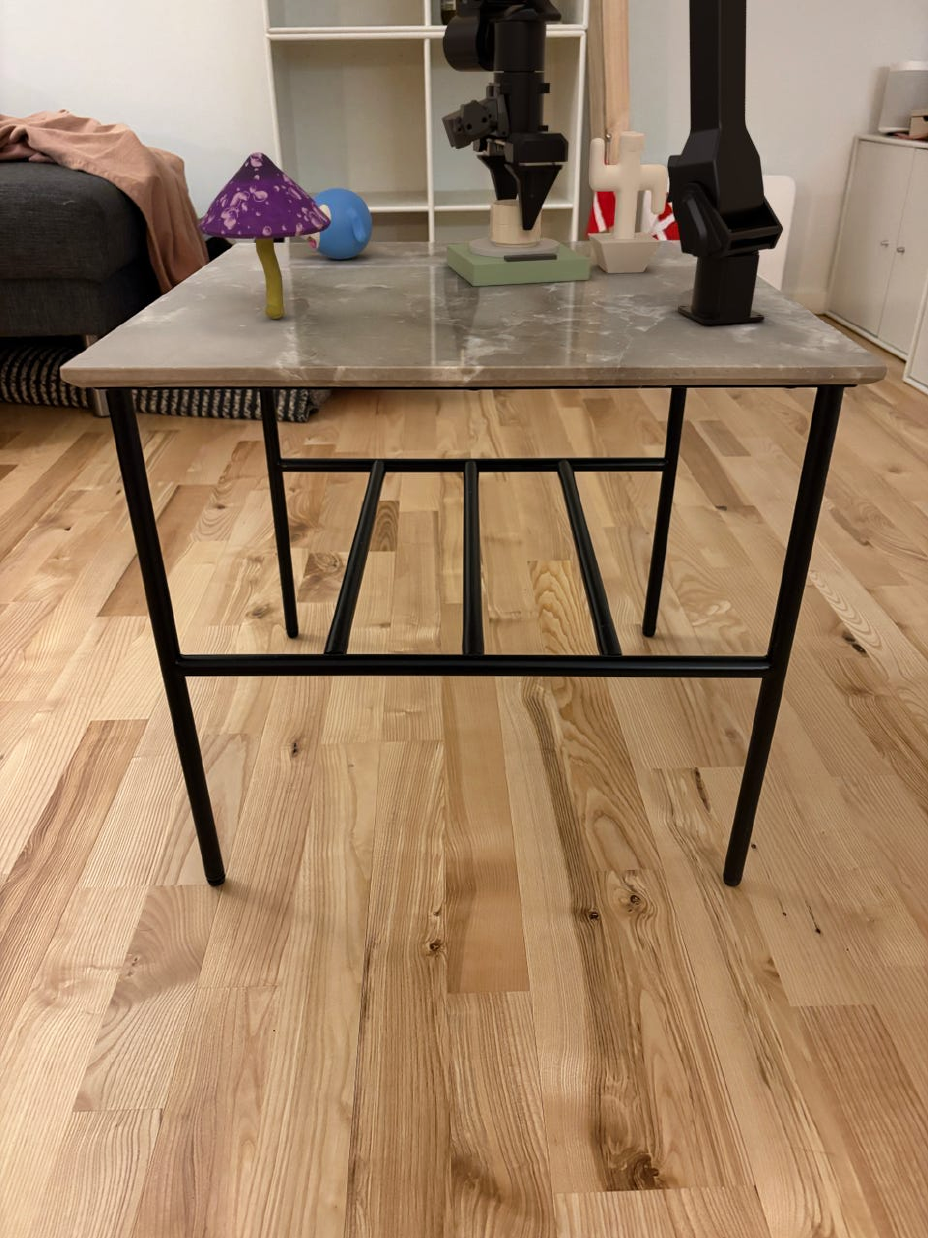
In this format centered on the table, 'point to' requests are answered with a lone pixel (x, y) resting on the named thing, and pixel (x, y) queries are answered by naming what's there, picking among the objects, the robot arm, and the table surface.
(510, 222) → the beige wooden cup
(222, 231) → the decorative mushroom
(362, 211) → the blue mole toy
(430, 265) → the table surface
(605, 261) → the figurine
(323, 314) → the table surface
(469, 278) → the scale
